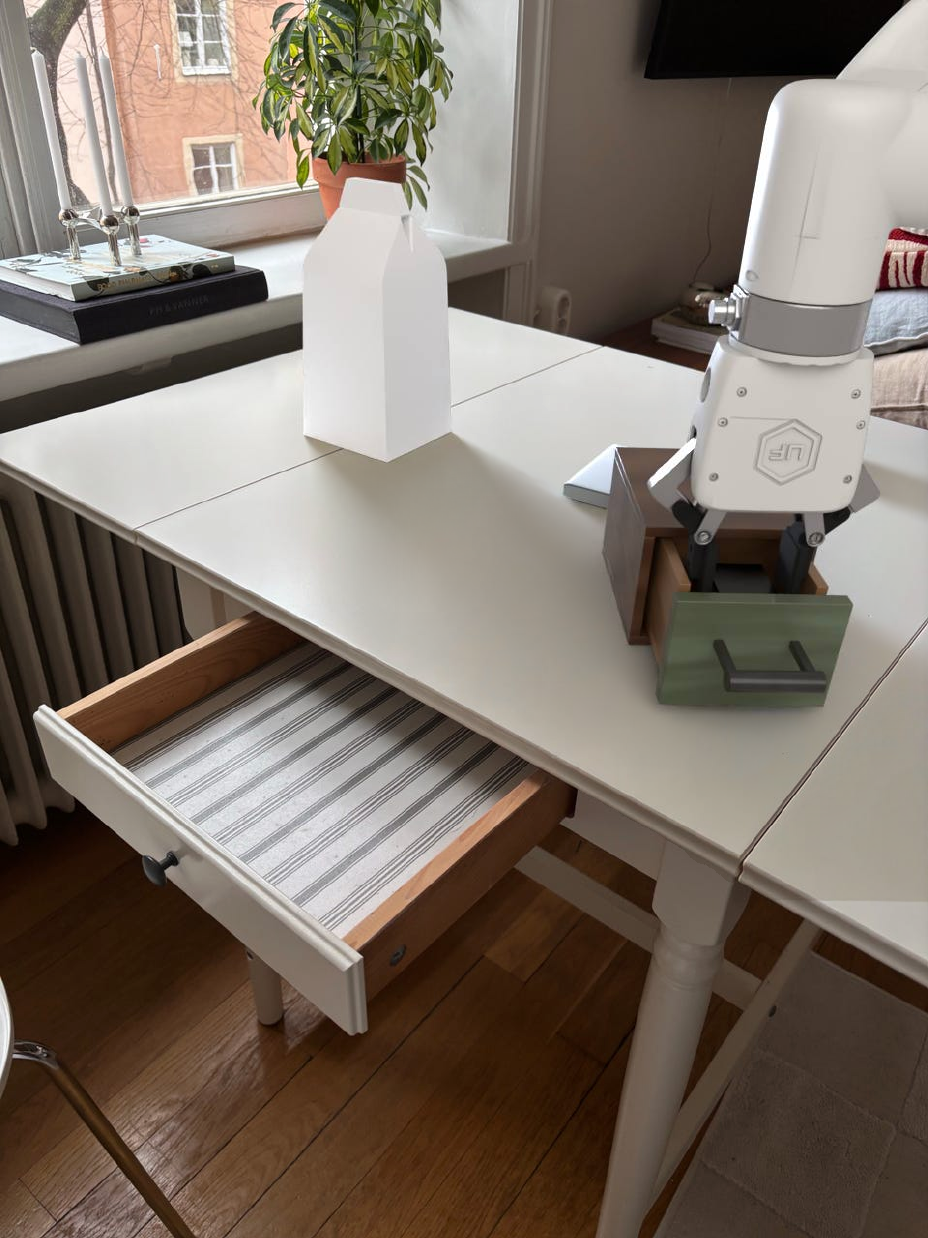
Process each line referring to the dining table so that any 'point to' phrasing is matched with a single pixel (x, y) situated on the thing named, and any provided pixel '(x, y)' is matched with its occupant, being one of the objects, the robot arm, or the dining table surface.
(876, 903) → the dining table surface
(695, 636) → the drawer
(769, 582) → the silver metal block
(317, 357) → the milk
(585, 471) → the hard drive
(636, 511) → the cabinet
